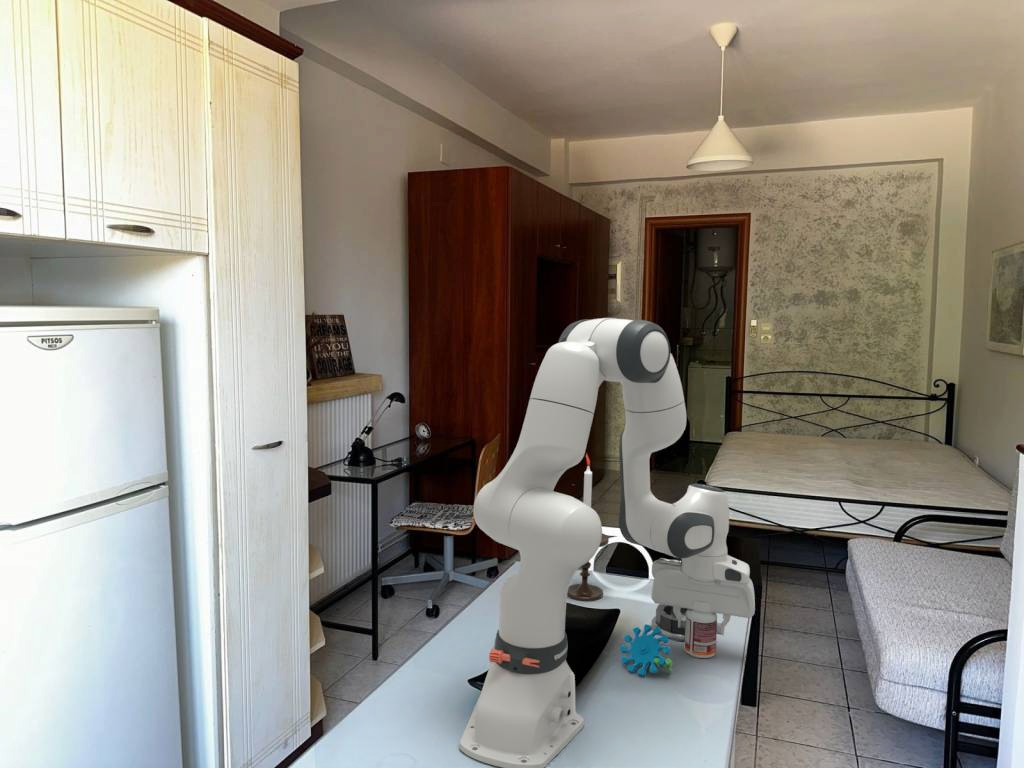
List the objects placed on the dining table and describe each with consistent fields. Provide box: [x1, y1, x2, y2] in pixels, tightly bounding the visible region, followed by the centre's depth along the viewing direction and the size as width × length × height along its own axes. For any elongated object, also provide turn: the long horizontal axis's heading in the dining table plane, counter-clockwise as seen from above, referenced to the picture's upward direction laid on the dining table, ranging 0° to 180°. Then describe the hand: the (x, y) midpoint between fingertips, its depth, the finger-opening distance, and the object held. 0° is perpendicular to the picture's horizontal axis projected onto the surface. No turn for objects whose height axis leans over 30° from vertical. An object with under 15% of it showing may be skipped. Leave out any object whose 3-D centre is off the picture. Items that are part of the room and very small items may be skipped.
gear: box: [619, 624, 674, 677], centre depth 139 cm, size 11×6×10 cm
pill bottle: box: [684, 600, 718, 659], centre depth 146 cm, size 6×6×11 cm
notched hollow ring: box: [650, 604, 688, 643], centre depth 157 cm, size 13×13×4 cm
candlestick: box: [567, 452, 610, 602], centre depth 175 cm, size 11×11×35 cm
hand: (700, 630), depth 146 cm, fingers closed on pill bottle, 6 cm apart
